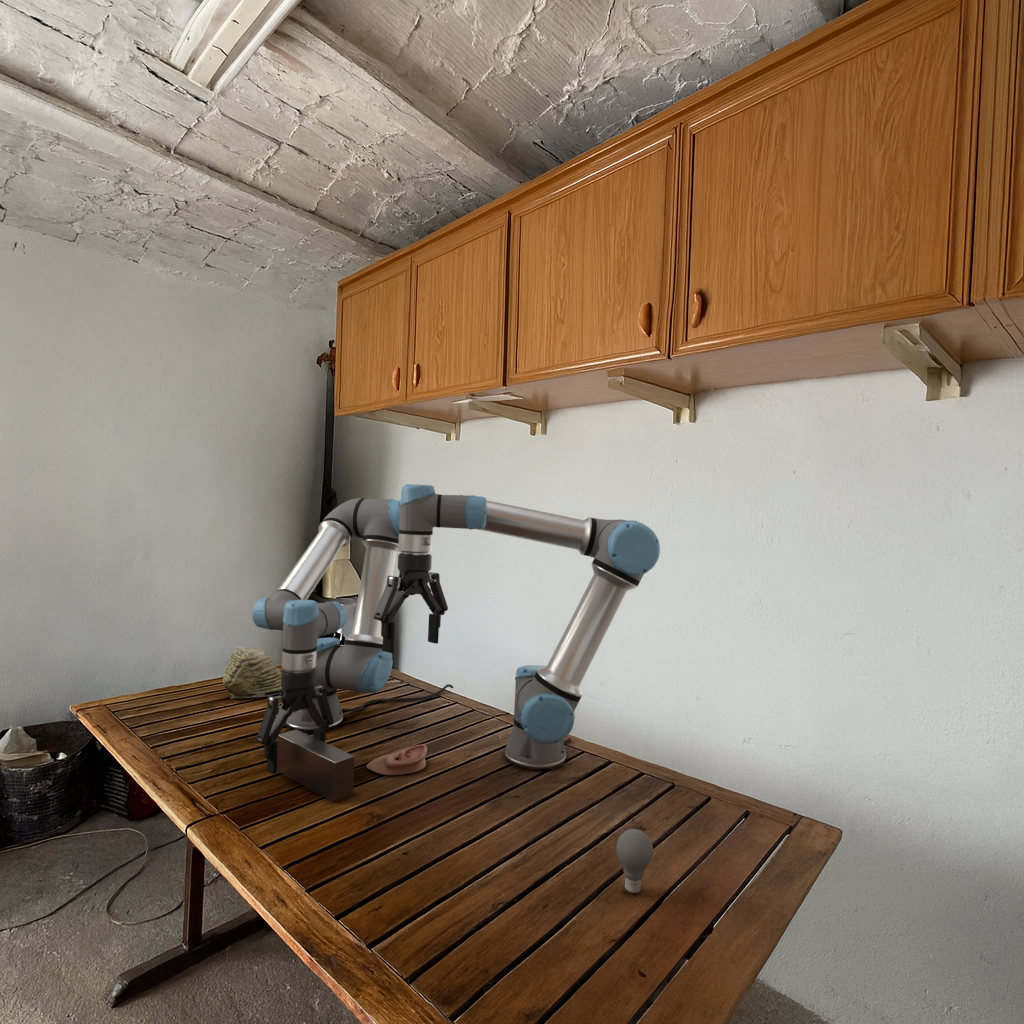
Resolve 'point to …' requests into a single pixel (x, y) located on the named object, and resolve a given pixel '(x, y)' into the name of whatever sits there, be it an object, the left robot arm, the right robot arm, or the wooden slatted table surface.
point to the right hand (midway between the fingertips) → (411, 647)
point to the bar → (315, 765)
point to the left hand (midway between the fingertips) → (295, 764)
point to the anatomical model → (400, 761)
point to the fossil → (251, 674)
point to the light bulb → (634, 857)
